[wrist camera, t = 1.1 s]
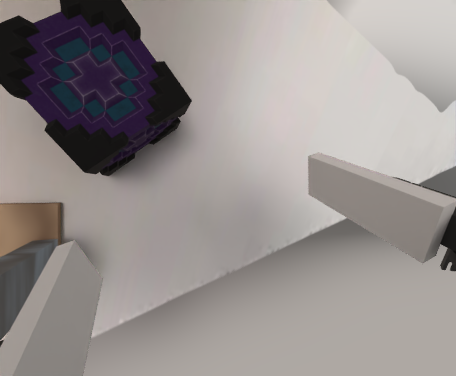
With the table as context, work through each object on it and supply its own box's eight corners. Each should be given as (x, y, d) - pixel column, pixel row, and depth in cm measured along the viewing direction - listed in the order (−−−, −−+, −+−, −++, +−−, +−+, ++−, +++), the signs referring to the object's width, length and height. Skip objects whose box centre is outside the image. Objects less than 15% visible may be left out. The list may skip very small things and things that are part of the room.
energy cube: (122, 56, 29) (106, -21, 18) (176, 128, 32) (192, 100, 21) (39, 100, 26) (-42, 39, 15) (108, 176, 29) (84, 172, 18)
